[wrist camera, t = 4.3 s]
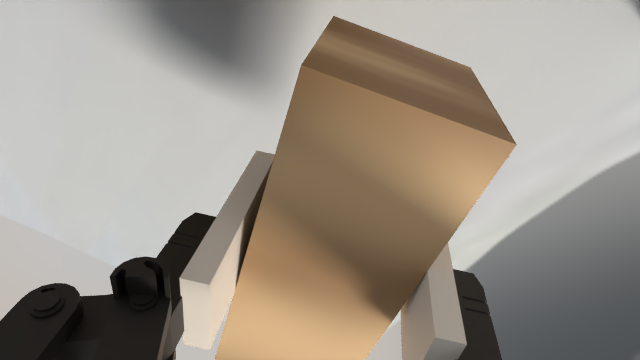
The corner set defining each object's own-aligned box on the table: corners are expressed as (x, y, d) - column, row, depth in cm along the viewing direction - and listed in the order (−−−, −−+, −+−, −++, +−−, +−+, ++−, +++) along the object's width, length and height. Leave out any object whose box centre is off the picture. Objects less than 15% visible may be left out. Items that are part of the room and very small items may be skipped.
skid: (349, 286, 20) (337, 399, 15) (257, 254, 20) (214, 358, 15) (470, 67, 13) (516, 144, 8) (333, 15, 13) (301, 65, 8)
